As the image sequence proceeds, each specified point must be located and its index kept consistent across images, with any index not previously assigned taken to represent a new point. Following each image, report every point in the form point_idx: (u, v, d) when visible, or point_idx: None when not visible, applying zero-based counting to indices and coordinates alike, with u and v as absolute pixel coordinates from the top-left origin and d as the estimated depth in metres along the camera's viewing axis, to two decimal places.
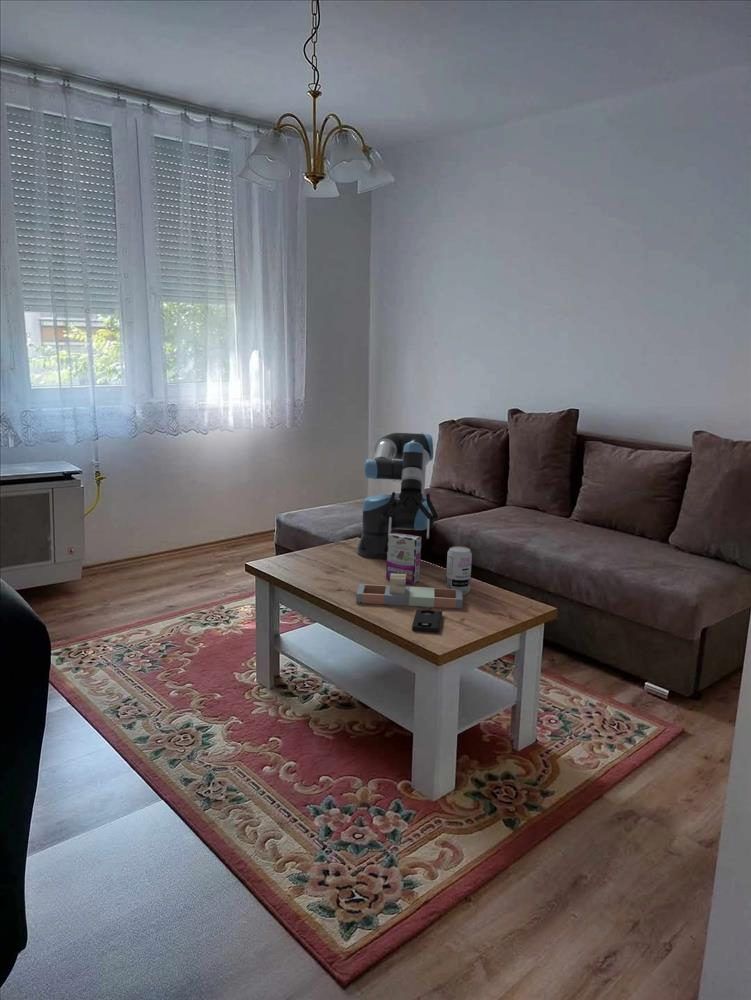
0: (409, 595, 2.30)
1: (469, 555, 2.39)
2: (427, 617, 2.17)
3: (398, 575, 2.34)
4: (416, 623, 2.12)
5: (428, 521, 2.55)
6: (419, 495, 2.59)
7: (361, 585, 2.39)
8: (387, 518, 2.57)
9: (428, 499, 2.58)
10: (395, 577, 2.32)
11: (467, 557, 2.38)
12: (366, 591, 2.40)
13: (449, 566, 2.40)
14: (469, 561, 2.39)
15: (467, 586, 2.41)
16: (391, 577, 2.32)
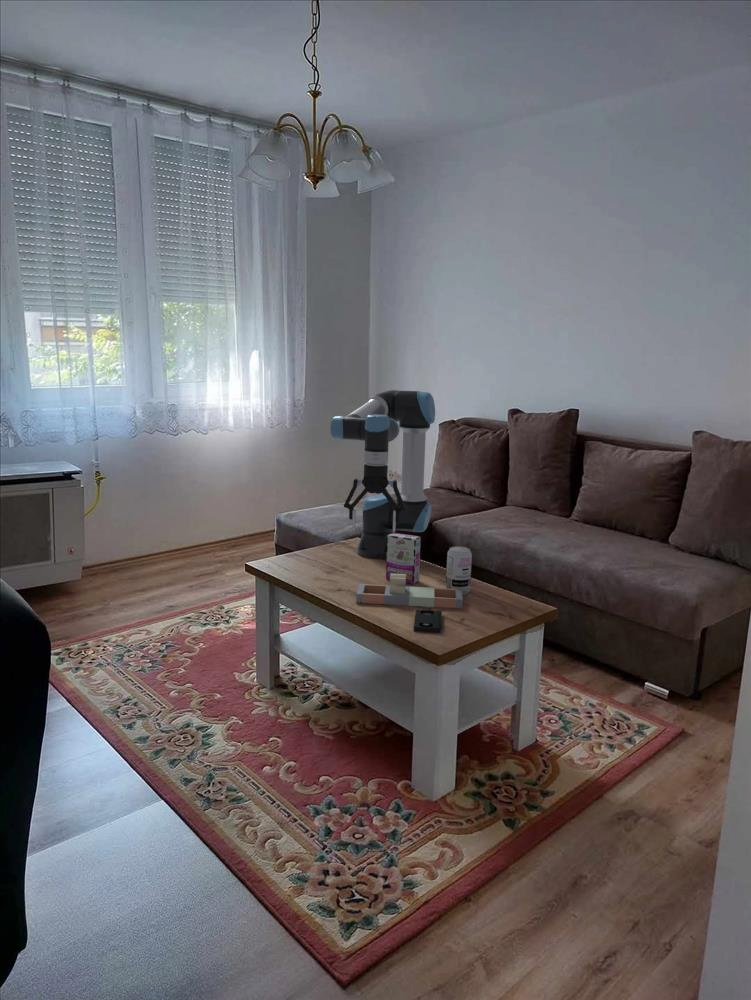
0: (409, 595, 2.30)
1: (469, 555, 2.39)
2: (427, 617, 2.17)
3: (398, 575, 2.34)
4: (417, 623, 2.12)
5: (394, 515, 2.28)
6: (385, 482, 2.27)
7: (361, 585, 2.39)
8: (350, 510, 2.30)
9: (395, 488, 2.27)
10: (395, 577, 2.32)
11: (467, 557, 2.38)
12: (366, 591, 2.40)
13: (449, 566, 2.40)
14: (469, 561, 2.39)
15: (467, 586, 2.41)
16: (391, 577, 2.32)
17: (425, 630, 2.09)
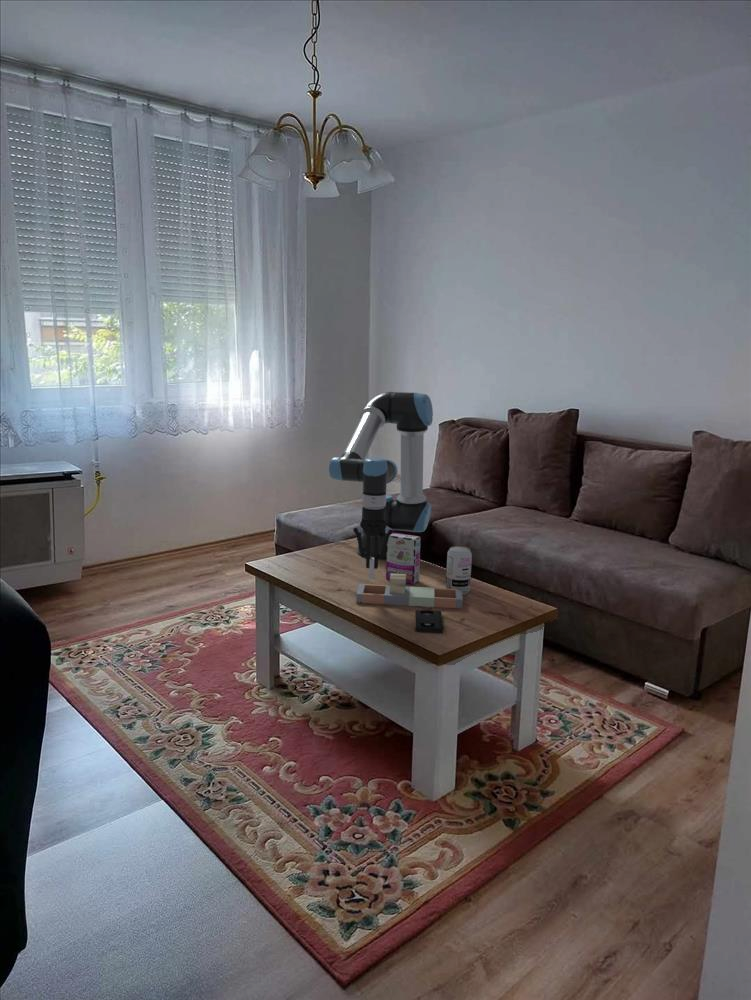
0: (409, 595, 2.30)
1: (469, 555, 2.39)
2: (428, 617, 2.16)
3: (398, 575, 2.34)
4: (418, 623, 2.11)
5: (372, 562, 2.32)
6: (383, 525, 2.29)
7: (361, 585, 2.39)
8: (367, 559, 2.32)
9: (387, 535, 2.30)
10: (395, 577, 2.32)
11: (467, 557, 2.38)
12: (366, 591, 2.40)
13: (449, 566, 2.40)
14: (469, 561, 2.39)
15: (467, 586, 2.41)
16: (391, 577, 2.32)
17: (427, 630, 2.09)
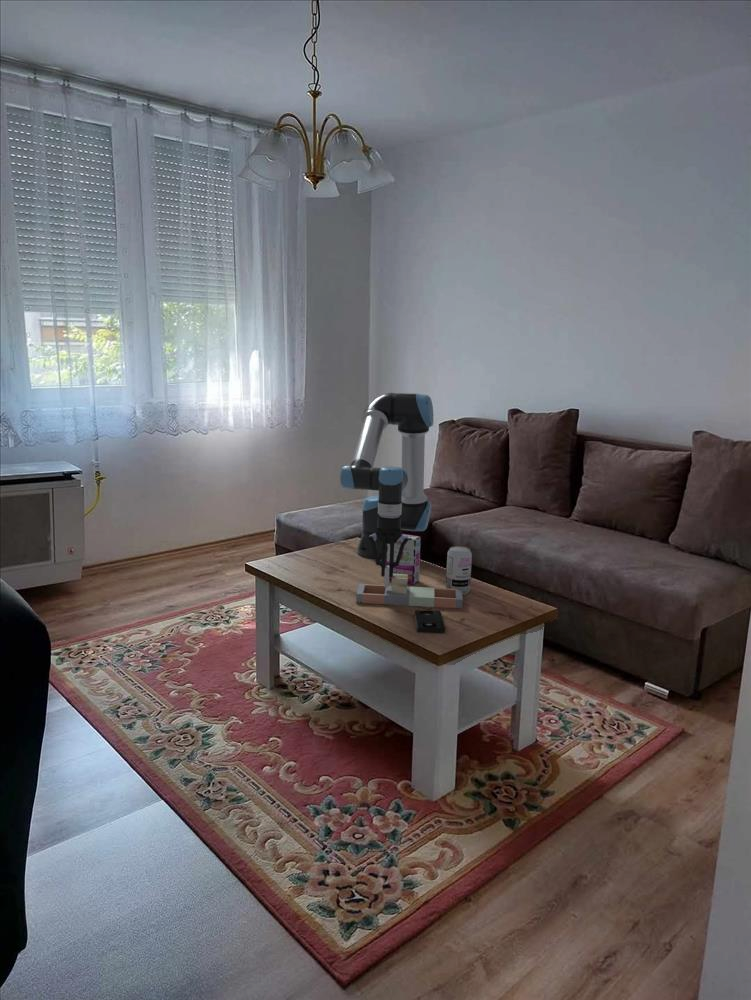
0: (409, 595, 2.30)
1: (469, 555, 2.39)
2: (428, 617, 2.16)
3: (400, 575, 2.34)
4: (420, 624, 2.11)
5: (388, 571, 2.32)
6: (398, 534, 2.29)
7: (361, 585, 2.39)
8: (383, 568, 2.32)
9: (403, 544, 2.30)
10: (397, 577, 2.32)
11: (467, 557, 2.38)
12: (366, 591, 2.40)
13: (449, 566, 2.40)
14: (469, 561, 2.39)
15: (467, 586, 2.41)
16: (393, 577, 2.32)
17: (429, 630, 2.09)
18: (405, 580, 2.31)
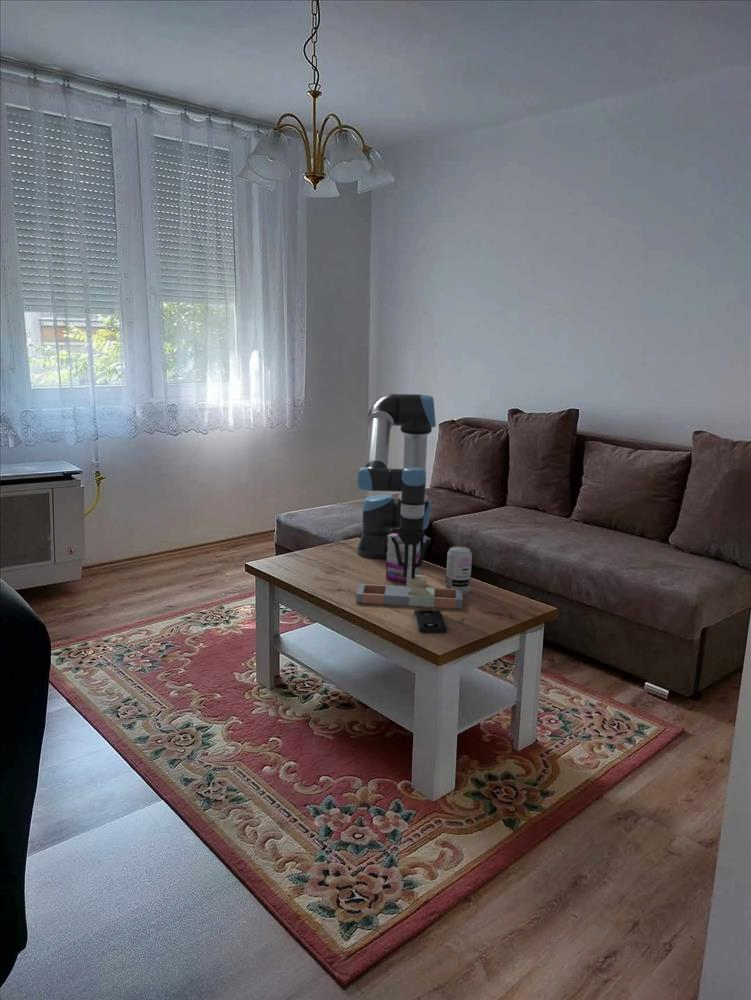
0: (409, 595, 2.30)
1: (469, 555, 2.39)
2: (429, 617, 2.16)
3: (419, 577, 2.33)
4: (421, 624, 2.11)
5: (410, 572, 2.31)
6: (421, 535, 2.29)
7: (361, 585, 2.39)
8: (405, 569, 2.32)
9: (425, 545, 2.29)
10: (416, 578, 2.31)
11: (467, 557, 2.38)
12: (366, 591, 2.40)
13: (449, 566, 2.40)
14: (469, 561, 2.39)
15: (467, 586, 2.41)
16: (412, 578, 2.31)
17: (431, 631, 2.09)
18: (424, 581, 2.30)
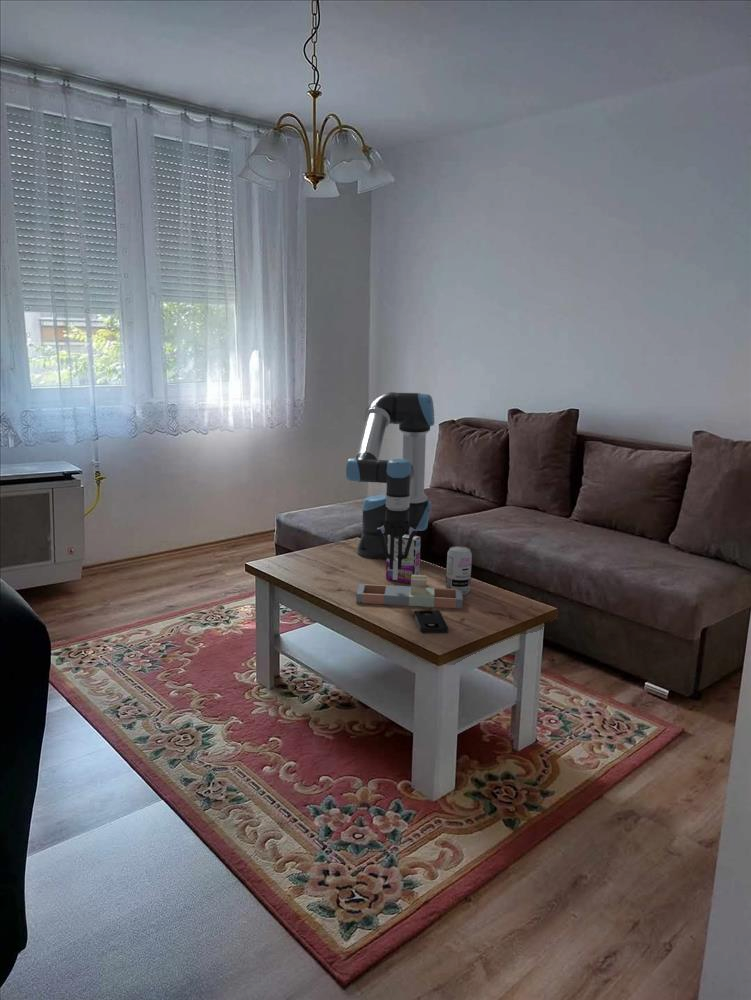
0: (409, 595, 2.30)
1: (469, 555, 2.39)
2: (429, 617, 2.16)
3: (419, 577, 2.33)
4: (422, 624, 2.11)
5: (396, 563, 2.32)
6: (406, 526, 2.29)
7: (361, 585, 2.39)
8: (391, 560, 2.32)
9: (411, 537, 2.29)
10: (416, 578, 2.31)
11: (467, 557, 2.38)
12: (366, 591, 2.40)
13: (449, 566, 2.40)
14: (469, 561, 2.39)
15: (467, 586, 2.41)
16: (412, 578, 2.31)
17: (433, 631, 2.09)
18: (424, 581, 2.30)
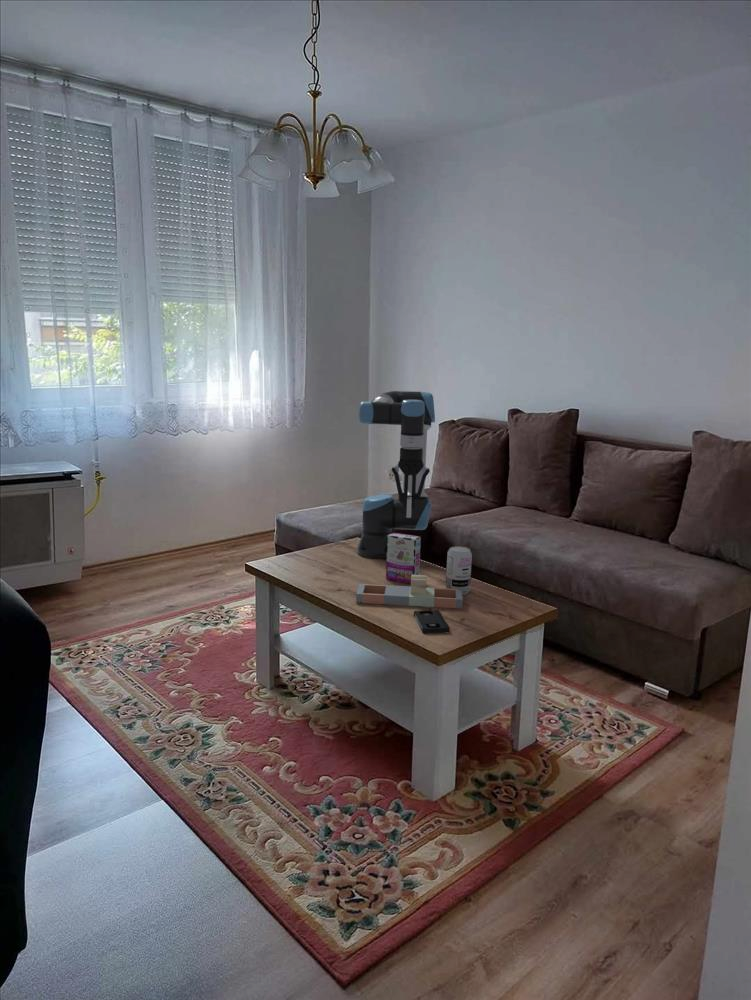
0: (409, 595, 2.30)
1: (469, 555, 2.39)
2: (430, 618, 2.16)
3: (419, 577, 2.33)
4: (424, 625, 2.11)
5: (410, 501, 2.39)
6: (420, 465, 2.36)
7: (361, 585, 2.39)
8: (405, 499, 2.40)
9: (424, 475, 2.37)
10: (416, 578, 2.31)
11: (467, 557, 2.38)
12: (366, 591, 2.40)
13: (449, 566, 2.40)
14: (469, 561, 2.39)
15: (467, 586, 2.41)
16: (412, 578, 2.31)
17: (434, 631, 2.09)
18: (424, 581, 2.30)
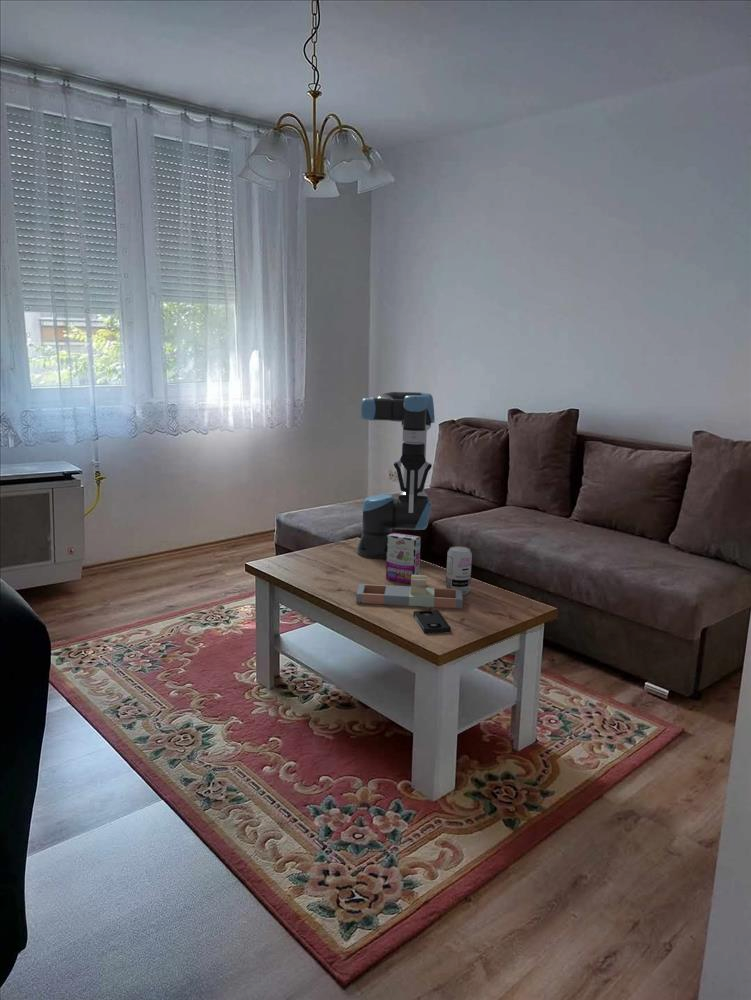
0: (409, 595, 2.30)
1: (469, 555, 2.39)
2: (430, 618, 2.16)
3: (419, 577, 2.33)
4: (425, 625, 2.11)
5: (412, 496, 2.41)
6: (422, 460, 2.38)
7: (361, 585, 2.39)
8: (407, 494, 2.41)
9: (426, 470, 2.38)
10: (416, 578, 2.31)
11: (467, 557, 2.38)
12: (366, 591, 2.40)
13: (449, 566, 2.40)
14: (469, 561, 2.39)
15: (467, 586, 2.41)
16: (412, 578, 2.31)
17: (436, 631, 2.09)
18: (424, 581, 2.30)
